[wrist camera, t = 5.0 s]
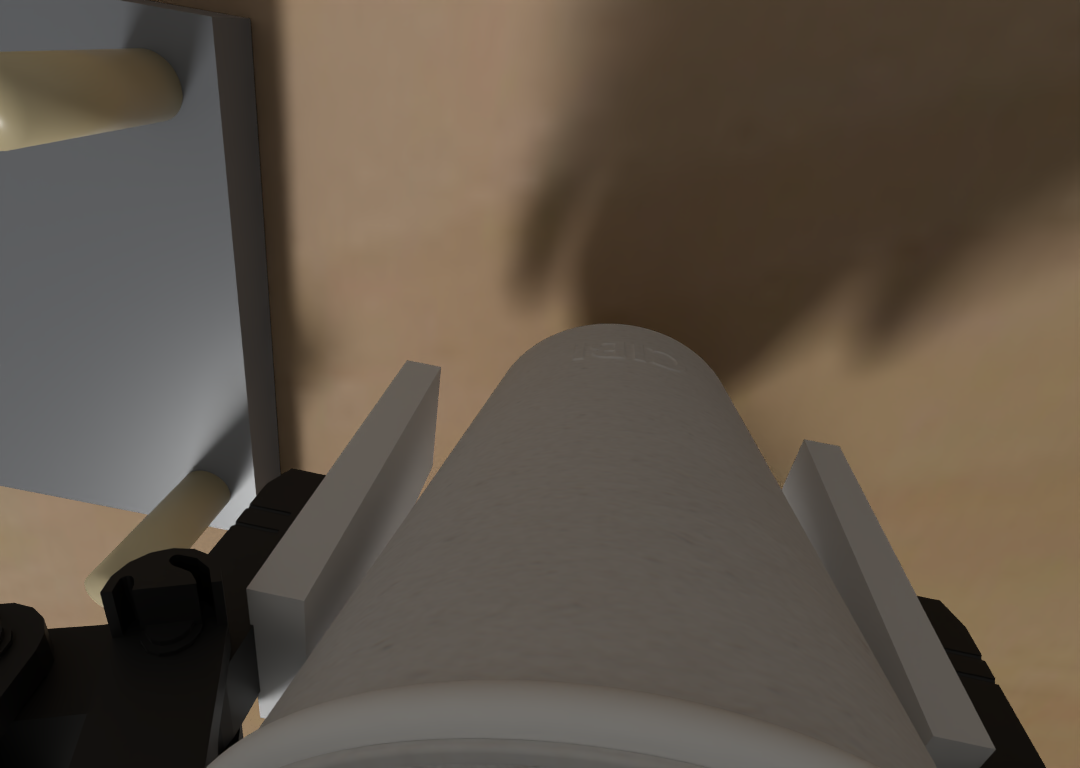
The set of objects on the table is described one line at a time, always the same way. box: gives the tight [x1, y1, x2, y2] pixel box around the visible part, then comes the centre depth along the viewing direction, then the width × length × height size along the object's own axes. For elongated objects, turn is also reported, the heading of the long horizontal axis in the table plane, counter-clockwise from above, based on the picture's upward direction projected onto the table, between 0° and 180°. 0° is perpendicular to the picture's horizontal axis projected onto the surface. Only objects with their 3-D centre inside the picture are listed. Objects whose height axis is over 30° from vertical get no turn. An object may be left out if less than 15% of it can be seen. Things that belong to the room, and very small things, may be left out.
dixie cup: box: [206, 324, 937, 768], centre depth 10 cm, size 8×8×10 cm
